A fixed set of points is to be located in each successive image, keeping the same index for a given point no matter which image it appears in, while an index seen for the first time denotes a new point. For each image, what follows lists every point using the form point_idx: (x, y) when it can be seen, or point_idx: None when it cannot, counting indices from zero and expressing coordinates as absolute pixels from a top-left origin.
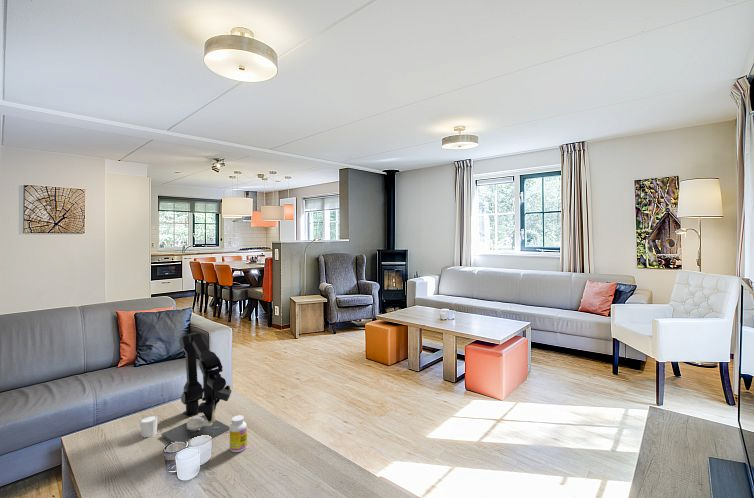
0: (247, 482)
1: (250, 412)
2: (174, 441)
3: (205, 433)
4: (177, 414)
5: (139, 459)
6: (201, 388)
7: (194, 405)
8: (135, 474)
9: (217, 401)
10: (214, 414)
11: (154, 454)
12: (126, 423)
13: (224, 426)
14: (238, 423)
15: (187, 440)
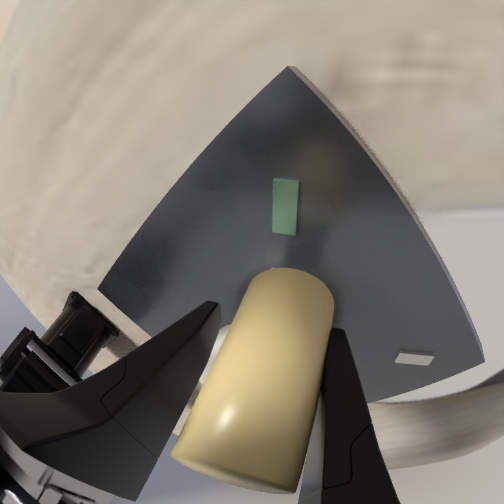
0: None
1: (47, 10)
2: (374, 400)
3: (362, 284)
4: (114, 356)
5: (411, 432)
6: (4, 390)
7: (75, 349)
8: (489, 421)
9: (54, 454)
10: (279, 356)
11: (408, 415)
12: (181, 428)
13: (272, 122)
14: None
15: (402, 364)
